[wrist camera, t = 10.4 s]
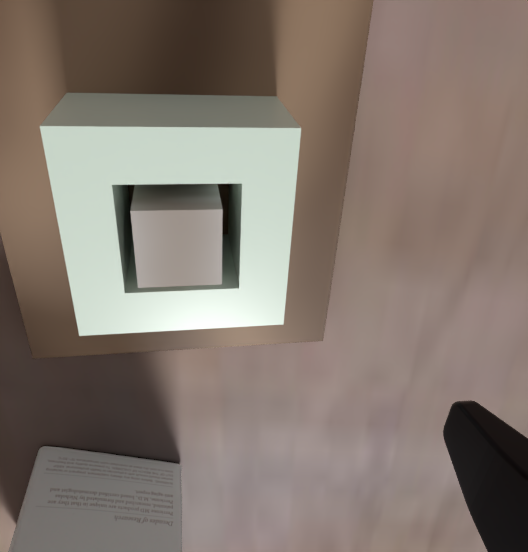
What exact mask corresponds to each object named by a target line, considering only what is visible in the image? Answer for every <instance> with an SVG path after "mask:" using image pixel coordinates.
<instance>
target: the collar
mask: <svg viewBox="0 0 528 552" xmlns="http://www.w3.org/2000/svg"><path fill="white" fill-rule="evenodd" d="M40 130H41V136H42V141H43V146H44V152H45V157H46V162H47V168H48V173H49V178H50V183H51V189H52V194H53V199H54V205H55V210H56V215H57V221H58V226H59V231H60V236H61V242H62V247H63V252H64V258H65V263H66V268H67V273H68V279H69V284H70V289H71V295H72V300H73V305H74V311H75V316H76V321H77V326H78V332H79V336H87V335H105V334H123V333H140V332H158V331H176V330H194V329H212V328H230V327H248V326H266V325H283V324H284V314H285V303H286V292H287V281H288V270H289V259H290V247H291V236H292V225H293V214H294V203H295V192H296V181H297V170H298V159H299V148H300V137H301V127H300V126H299V125H298V123H297V122H296V121H295V119H294V118H293V117H292V115H291V114H290V113H289V112H288V110H287V109H286V108H285V106H284V105H283V104H282V102H281V101H280V100H279V99H278V97H277V96H226V95H170V94H115V93H66V94H65V95H64V97H63V98H62V99H61V100H60V102H59V103H58V104H57V105H56V106H55V108H54V109H53V110H52V111H51V113H50V114H49V115H48V116H47V118H46V119H45V120H44V121H43V123H42V124H41V125H40ZM142 184H229V208H228V234H222V284H221V285H196V286H172V287H148V288H138V283H137V273H136V263H135V253H134V243H133V233H132V223H131V213H130V202H129V193H128V185H142Z"/></svg>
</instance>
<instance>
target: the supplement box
mask: <svg viewBox="0 0 528 552" xmlns="http://www.w3.org/2000/svg"><path fill="white" fill-rule="evenodd" d="M181 467H182V466H181V465H180V464H176V463H170V462H163V461H157V460H149V459H141V458H135V457H128V456H119V455H113V454H107V453H99V452H90V451H83V450H75V449H68V448H61V447H50V446H43V447H41V448H40V449H39V451H38V454H37V457H36V461H35V464H34V467H33V471H32V474H31V477H30V481H29V484H28V488H27V491H26V494H25V498H24V501H23V504H22V508H21V511H20V514H19V518H18V521H17V524H16V528H15V531H14V534H13V538H12V541H11V544H10V548H9V551H8V552H182V494H181Z"/></svg>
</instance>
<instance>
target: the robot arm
mask: <svg viewBox="0 0 528 552" xmlns="http://www.w3.org/2000/svg"><path fill="white" fill-rule="evenodd" d="M443 435H444V440H445V443H446V446H447V449H448V452H449V455H450V458H451V461H452V464H453V466H454V469H455V472H456V475H457V478H458V481H459V484H460V487H461V490H462V493H463V495H464V498H465V501H466V504H467V506H468V509H469V511H470V514H471V516H472V518H473V521H474V523H475V525H476V527H477V529H478V532H479V534H480V536H481V538H482V540H483V542H484V545H485V547H486V549H487V551H488V552H528V438H526V437H525V436H523V435H522V434H521V433H519V432H518V431H516V430H515V429H514V428H512V427H511V426H509V425H508V424H506V423H505V422H504V421H502V420H501V419H499V418H498V417H497V416H495V415H494V414H492V413H491V412H490V411H488V410H487V409H485V408H484V407H482V406H481V405H480V404H478V403H477V402H475V401H457V402H455V403H454V404H452V406H451V409H450V412H449V414H448V417H447V420H446V423H445V426H444V430H443Z"/></svg>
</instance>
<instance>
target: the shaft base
mask: <svg viewBox="0 0 528 552" xmlns="http://www.w3.org/2000/svg"><path fill="white" fill-rule="evenodd" d="M372 6H373V0H0V234H1V238H2V242H3V245H4V249H5V253H6V257H7V261H8V265H9V269H10V272H11V276H12V280H13V284H14V288H15V292H16V296H17V299H18V303H19V307H20V311H21V315H22V319H23V323H24V326H25V330H26V334H27V338H28V342H29V346H30V350H31V353H32V357H33V359H36V358H53V357H69V356H85V355H102V354H118V353H134V352H150V351H167V350H183V349H199V348H216V347H232V346H248V345H265V344H281V343H297V342H313V341H323V338H324V331H325V324H326V317H327V310H328V304H329V297H330V290H331V283H332V277H333V270H334V263H335V256H336V250H337V243H338V236H339V229H340V223H341V216H342V209H343V202H344V196H345V189H346V182H347V175H348V168H349V162H350V155H351V148H352V141H353V135H354V128H355V121H356V114H357V108H358V101H359V94H360V87H361V81H362V74H363V67H364V60H365V54H366V47H367V40H368V33H369V26H370V20H371V13H372ZM66 93H115V94H170V95H226V96H277V97H278V99H279V100H280V101H281V102H282V104H283V105H284V106H285V108H286V109H287V110H288V112H289V113H290V114H291V115H292V117H293V118H294V119H295V121H296V122H297V123H298V125H299V126H300V127H301V137H300V148H299V159H298V170H297V181H296V192H295V203H294V214H293V225H292V236H291V247H290V259H289V270H288V281H287V292H286V303H285V314H284V324H283V325H266V326H248V327H230V328H212V329H194V330H176V331H158V332H140V333H123V334H105V335H87V336H79V332H78V326H77V321H76V316H75V311H74V305H73V300H72V295H71V289H70V284H69V279H68V273H67V268H66V263H65V258H64V252H63V247H62V242H61V236H60V231H59V226H58V221H57V215H56V210H55V205H54V199H53V194H52V189H51V183H50V178H49V173H48V168H47V162H46V157H45V152H44V146H43V141H42V136H41V130H40V125H41V124H42V123H43V121H44V120H45V119H46V118H47V116H48V115H49V114H50V113H51V111H52V110H53V109H54V108H55V106H56V105H57V104H58V103H59V102H60V100H61V99H62V98H63V97H64V95H65V94H66ZM128 193H129V202H130V213H131V223H132V233H133V243H134V253H135V263H136V273H137V283H138V288H148V287H172V286H196V285H221V284H222V234H228V208H229V184H142V185H128Z"/></svg>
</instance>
